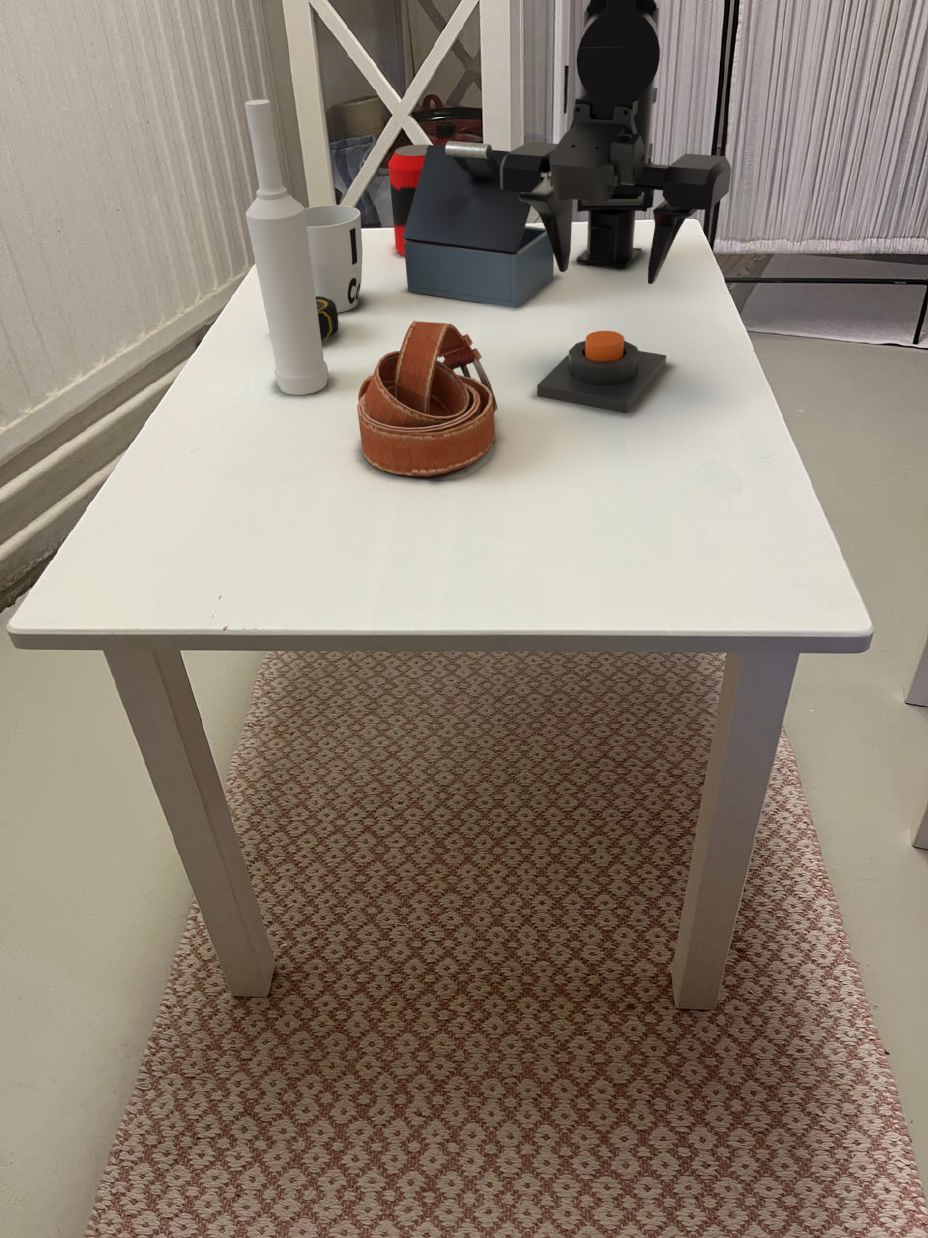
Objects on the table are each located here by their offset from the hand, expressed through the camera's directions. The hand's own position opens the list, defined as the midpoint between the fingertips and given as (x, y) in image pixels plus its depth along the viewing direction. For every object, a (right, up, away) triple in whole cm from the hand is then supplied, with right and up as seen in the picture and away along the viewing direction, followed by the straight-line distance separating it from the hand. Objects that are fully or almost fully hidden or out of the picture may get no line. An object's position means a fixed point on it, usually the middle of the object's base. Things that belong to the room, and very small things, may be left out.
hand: (606, 276), depth 83 cm
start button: (0, -6, +5) cm, 8 cm away
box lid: (-12, +16, +21) cm, 29 cm away
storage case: (-11, +9, +28) cm, 31 cm away
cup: (-28, +6, +25) cm, 38 cm away
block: (+1, -8, +6) cm, 10 cm away
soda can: (-18, +18, +39) cm, 47 cm away
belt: (-16, -15, -1) cm, 22 cm away
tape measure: (-30, 0, +18) cm, 35 cm away
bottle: (-29, -8, +9) cm, 31 cm away
